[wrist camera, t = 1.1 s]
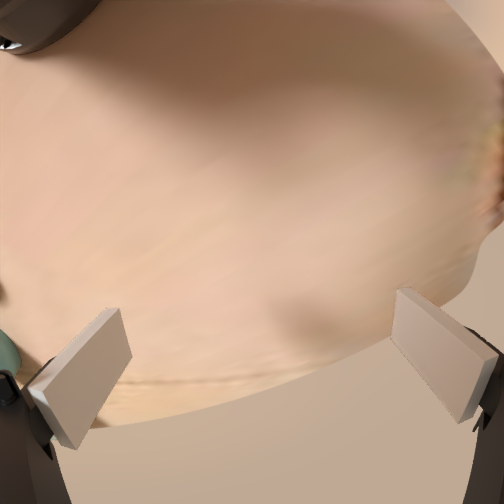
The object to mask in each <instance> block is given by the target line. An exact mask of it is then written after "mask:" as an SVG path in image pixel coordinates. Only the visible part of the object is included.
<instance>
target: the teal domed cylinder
mask: <svg viewBox="0 0 504 504" xmlns="http://www.w3.org/2000/svg"><path fill="white" fill-rule="evenodd" d="M20 367H21V358H20V355H19V352H18V350H17V349H16V347H15V345H14V344H13V342H12V341H11V340H10V339H9V337H8V336H7V335H6V334H5V333H4V332H3V331H2V330H1V329H0V370H3V369H4V370H9V371H10V372H11V373H12V375H13V377H14V378H15V376H16V374H17V372H18V371H19V369H20Z"/></svg>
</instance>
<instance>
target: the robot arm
mask: <svg viewBox="0 0 504 504" xmlns="http://www.w3.org/2000/svg"><path fill="white" fill-rule="evenodd" d="M99 2H100V0H0V51H4V52H8V53H12V54H27V53H31V52H35V51H37V50H40V49H42V48H44V47H46V46H48V45H50V44H52V43H54V42H55V41H57V40H58V39H60V38H61V37H63V36H64V35H66V34H67V33H68V32H70V31H71V30H72V29H73V28H74V27H76V26H77V25H78V24H79V23H80V22H81V21H82V20H83V19H84V18H85V17H86V16H87V15H88V14H89V13H90V12H91V11H92V10H93V9H94V8H95V7H96V5H97V4H98V3H99ZM391 340H392V341H393V343H394V344H395V345H396V346H397V347H398V349H399V350H400V351H401V352H402V354H403V355H404V356H405V357H406V358H407V360H408V361H409V362H410V363H411V365H412V366H413V367H414V368H415V369H416V371H417V372H418V373H419V374H420V376H421V377H422V378H423V379H424V381H425V382H426V383H427V385H428V386H429V387H430V388H431V390H432V391H433V392H434V393H435V395H436V396H437V397H438V398H439V400H440V401H441V402H442V404H443V405H444V406H445V408H446V409H447V410H448V412H449V413H450V414H451V416H452V417H453V418H454V420H455V421H456V422H457V424H459V423H461V422H463V421H465V420H468V419H470V418H472V417H473V415H474V413H475V411H476V409H477V407H478V405H480V406H481V407H482V409H483V411H482V413H481V415H480V417H479V419H478V421H477V423H476V425H475V426H474V428H473V432H475V430H476V429H477V427H478V426H479V429H478V437H477V443H476V449H475V455H474V460H473V465H472V470H471V474H470V478H469V483H468V486H467V490H466V494H465V497H464V500H463V504H504V354H503V353H502V352H500V351H499V350H498V349H497V348H495V347H494V346H493V345H492V344H490V343H489V342H486V340H485V339H484V338H483V337H480V335H479V334H478V333H476V332H475V331H474V330H472V329H470V328H467V327H465V326H462V325H461V324H460V323H458V322H457V321H456V320H454V319H453V318H452V317H450V316H449V315H448V314H446V313H445V312H444V311H442V310H441V309H440V308H438V307H437V306H436V305H434V304H433V303H431V302H430V301H429V300H427V299H426V298H425V297H423V296H422V295H420V294H419V293H418V292H416V291H415V290H413V289H412V288H411V287H407V288H400V289H397V293H396V302H395V311H394V319H393V326H392V333H391ZM131 358H132V354H131V351H130V347H129V344H128V340H127V336H126V333H125V329H124V325H123V321H122V317H121V313H120V309H119V308H106V309H105V310H103V311H102V312H101V313H100V314H99V315H98V316H97V317H96V318H95V319H94V320H93V321H92V322H91V323H90V324H89V325H88V326H87V327H86V328H85V329H84V330H82V331H81V332H80V333H79V334H78V335H77V336H76V337H75V338H74V339H73V340H72V341H71V342H70V343H69V344H68V345H67V346H66V347H65V348H64V349H63V350H62V351H61V352H60V353H59V354H58V355H57V356H56V357H54V358H52V359H50V360H49V361H48V362H47V363H46V364H45V365H44V366H43V368H41V369H40V370H39V371H38V374H35V375H34V376H33V378H32V379H31V380H30V381H29V382H28V383H27V384H26V385H25V386H24V387H23V388H22V389H21V390H20V389H19V387H18V385H17V383H16V381H15V379H14V377H13V375H12V373H11V372H10V371H9V370H4V369H3V370H0V504H72V503H71V500H70V498H69V495H68V492H67V489H66V486H65V483H64V480H63V477H62V474H61V471H60V467H59V464H58V460H57V456H56V452H55V448H54V446H53V444H52V442H51V441H50V440H51V438H52V437H53V435H54V436H55V437H56V439H57V440H58V441H59V443H60V444H61V446H64V447H68V448H71V449H74V450H77V449H78V447H79V446H80V444H81V442H82V440H83V439H84V437H85V435H86V433H87V432H88V430H89V428H90V426H91V425H92V423H93V421H94V419H95V418H96V416H97V414H98V413H99V411H100V409H101V407H102V406H103V404H104V402H105V401H106V399H107V397H108V396H109V394H110V392H111V391H112V389H113V387H114V386H115V384H116V383H117V381H118V379H119V378H120V376H121V374H122V373H123V371H124V370H125V368H126V366H127V365H128V363H129V362H130V360H131Z"/></svg>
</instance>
